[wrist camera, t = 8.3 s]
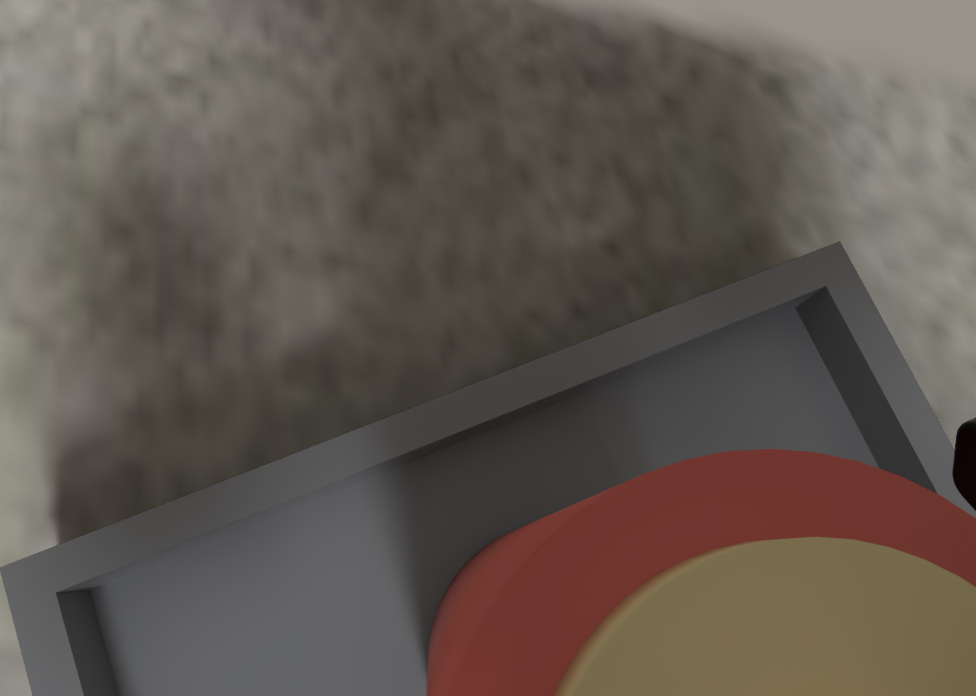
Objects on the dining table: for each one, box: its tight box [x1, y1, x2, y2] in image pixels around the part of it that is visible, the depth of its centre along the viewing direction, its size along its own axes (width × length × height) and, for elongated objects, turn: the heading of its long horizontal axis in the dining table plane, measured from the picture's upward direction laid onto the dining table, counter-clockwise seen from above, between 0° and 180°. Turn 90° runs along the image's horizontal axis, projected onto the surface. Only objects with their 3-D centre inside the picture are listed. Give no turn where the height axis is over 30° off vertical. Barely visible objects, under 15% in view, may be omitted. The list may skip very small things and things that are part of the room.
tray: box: [0, 242, 976, 696], centre depth 16 cm, size 11×18×2 cm, turn 112°
